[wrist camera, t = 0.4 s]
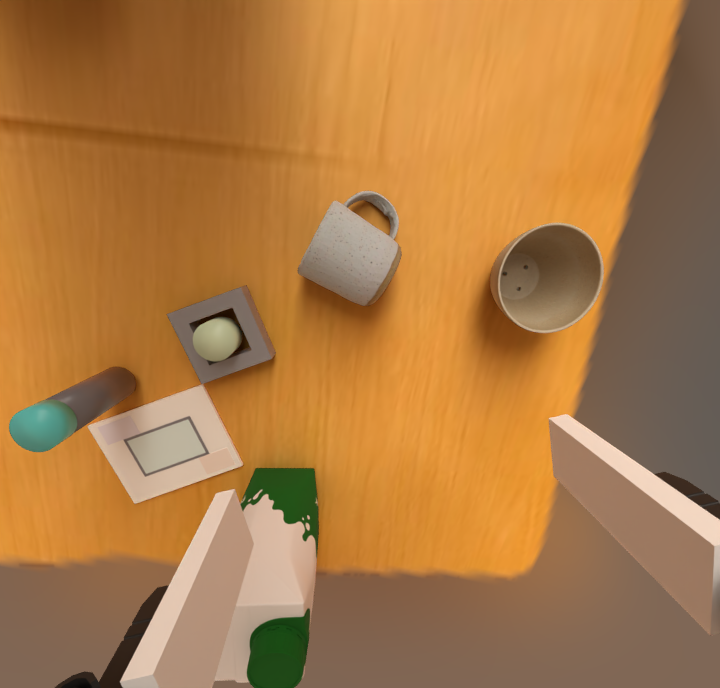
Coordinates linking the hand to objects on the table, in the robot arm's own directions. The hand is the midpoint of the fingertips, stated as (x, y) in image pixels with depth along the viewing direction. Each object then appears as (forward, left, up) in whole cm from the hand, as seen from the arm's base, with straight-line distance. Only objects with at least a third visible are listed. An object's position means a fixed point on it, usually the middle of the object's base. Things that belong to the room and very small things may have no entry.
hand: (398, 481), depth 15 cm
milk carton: (+15, -15, -27) cm, 34 cm away
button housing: (-6, -14, -26) cm, 30 cm away
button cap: (-6, -13, -25) cm, 29 cm away
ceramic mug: (-10, +3, -27) cm, 29 cm away
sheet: (+4, -25, -26) cm, 37 cm away
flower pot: (-1, +19, -27) cm, 33 cm away
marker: (-5, -26, -26) cm, 38 cm away
